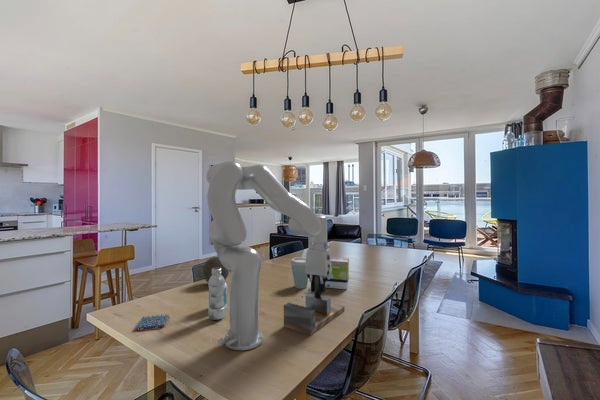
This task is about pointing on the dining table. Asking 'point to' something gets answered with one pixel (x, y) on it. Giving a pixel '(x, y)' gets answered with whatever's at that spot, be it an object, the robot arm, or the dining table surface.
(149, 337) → the dining table surface
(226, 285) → the pill bottle
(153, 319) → the woven mat
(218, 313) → the plastic bottle
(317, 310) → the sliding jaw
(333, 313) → the press base
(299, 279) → the disposable coffee cup
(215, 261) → the cantaloupe
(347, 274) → the tea box
